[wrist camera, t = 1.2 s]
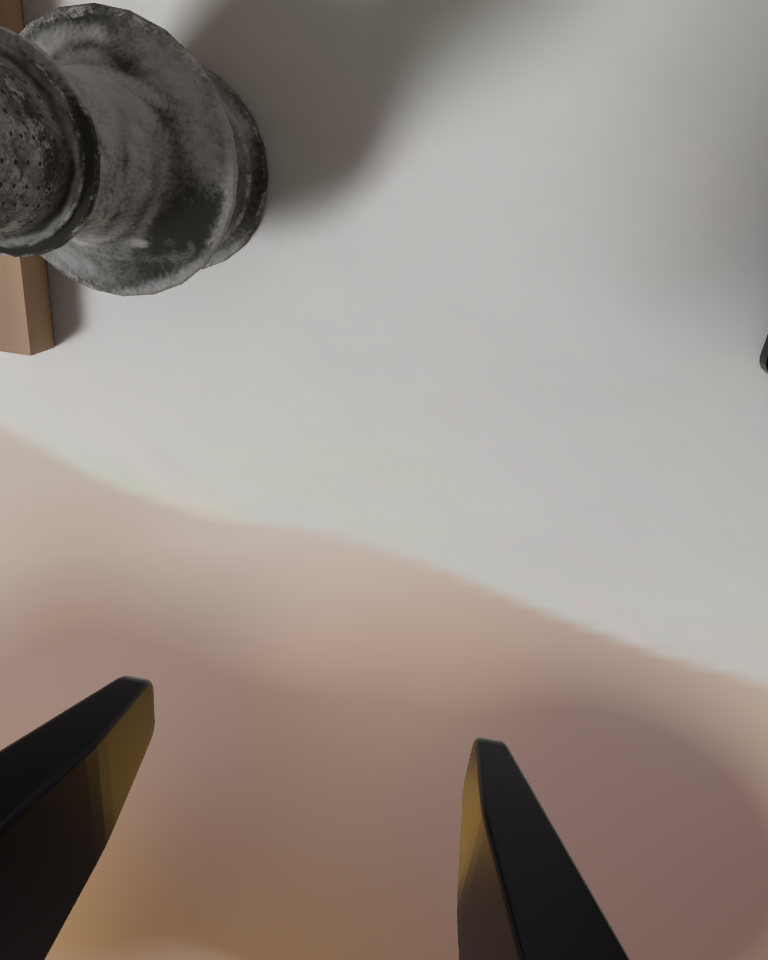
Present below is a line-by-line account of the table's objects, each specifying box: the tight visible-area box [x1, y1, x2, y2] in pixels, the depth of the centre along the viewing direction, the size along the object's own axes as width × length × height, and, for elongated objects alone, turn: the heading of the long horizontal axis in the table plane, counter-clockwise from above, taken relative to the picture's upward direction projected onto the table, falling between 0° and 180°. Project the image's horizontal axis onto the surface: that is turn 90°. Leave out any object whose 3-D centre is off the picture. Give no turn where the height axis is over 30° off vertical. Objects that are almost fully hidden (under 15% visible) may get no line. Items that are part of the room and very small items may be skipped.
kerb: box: [0, 0, 54, 356], centre depth 17 cm, size 1×11×1 cm, turn 174°
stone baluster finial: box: [0, 3, 268, 296], centre depth 12 cm, size 6×6×12 cm
